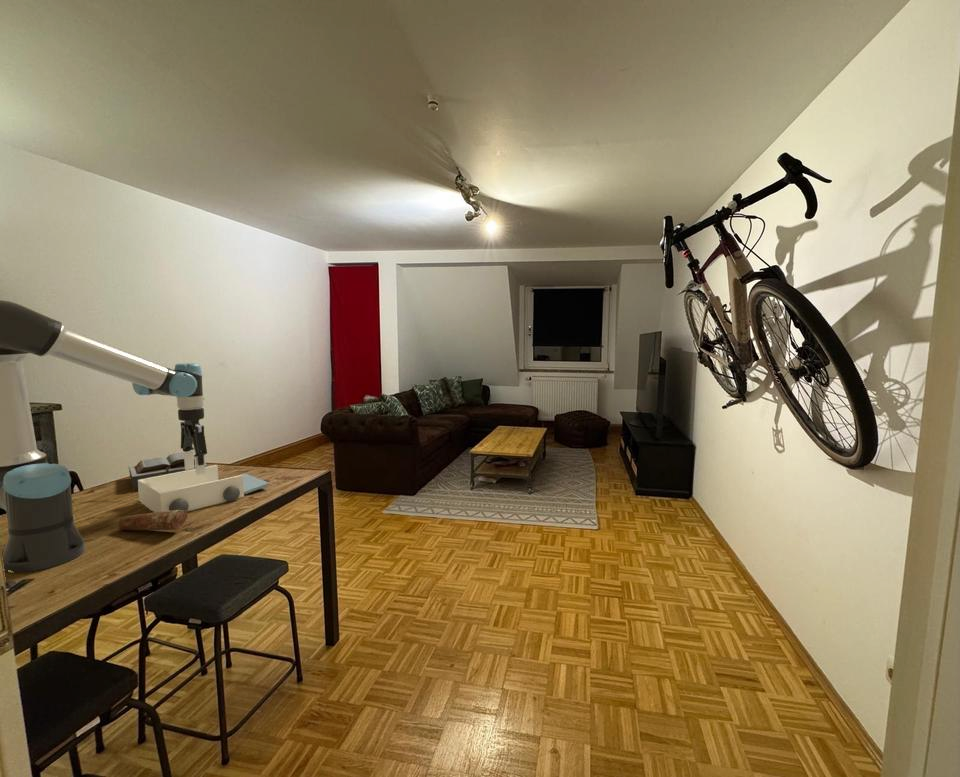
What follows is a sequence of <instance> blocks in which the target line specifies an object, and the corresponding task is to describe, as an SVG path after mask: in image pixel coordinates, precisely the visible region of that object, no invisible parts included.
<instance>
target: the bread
mask: <svg viewBox="0 0 960 777" xmlns="http://www.w3.org/2000/svg"><path fill="white" fill-rule="evenodd" d="M187 518H188V511H186V510H173V511H163V512H154V511H153V512H150V513H149V512H148V513H139V514H132V515H126V516H124V517H121V519H120V520H119V521H118V524H117V527H118V530H121V531H176V530H179V528H180V527H181V526H183V525H184V524H185V522H186V521H187Z"/></svg>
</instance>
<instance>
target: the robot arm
mask: <svg viewBox="0 0 960 777" xmlns="http://www.w3.org/2000/svg"><path fill="white" fill-rule="evenodd" d="M30 354H31V355H35V356H39V357H47V356H51V357H54V358H58V359H60V360H64V361H66V362H69V363H72V364H75V365H78V366H82V367H85V368H88V369H90V370H94V371H97V372H99V373H103V374H106V375H109V376H112V377H114V378H118V379H121V380H123V381H127V382H130V383H132V389H133V391H134V392H135V394H137V395H139V396H151V395H161V396H169V397H170V396H171V397H176V404H177V406H176V407H177V408H178V410H177V414H178V415H177V416H178V420H179V421H181V422H180V449H181V450H182V451H183V452H184V463H185V470H189V469H194V457H195V471H196V475H200V474H204V473H205V463H206V461H205V455H207V454H208V450H207V444H206V443H207V442H206V436H205V426H204V425H201V424H200V420H203V419H204V418H205V408H203V406H204V400H205V397H204V395H203V394H204V392H203V374H202V366H201V365H200V364H199V363H189V362H188V363H176V364H175V365H174V368H173V369H172V368H170V367H166V366H164V365H161V364H159V363H157V362H154V361H151V360H149V359H146V358H144V357H141V356H138V355H136V354H134V353H130V352H127V351H126V350H122V349H120V348H118V347H115V346H112V345H110V344H107V343H104V342H101V341H99V340H98V339H95V338H91V337H90V336H86V335H83V334H81V333H79V332H76V331H73V330H71V329H68V328H66V327H65V325H64V323H63V322H61V321H59V320H56V319H54V318H51V317H49V316H47V315H44V314H42V313H40V312H39V311H35V310H32V309H31V308H28V307H26V306H24V305H23V304H22V305H21V304H19V303H16V302H13V301H9V300H2V299H1V300H0V509H3V510H4V511H5V512H6V520H7V529H8V530H7V531H8V538H7V541H6V544H5V546H4V550H3V552H2V555H1V557H2V556H3V563H4V569H5V572H4V573H7V574H9V573H8V570H11V571H13V572H14V573H13V574H26V573H33V572H38V571H43V570H46V569H49V568H53V567H56V566H60V565H63V564H65V563H68V562H70V561H73V560H74V559H76V558H78V557H79V556H81V555H82V554H83V553H84V552H85V550H86V545H85V543H86V542H85V540H84V538H83V536H82V535H81V533H80V531H79V530H78V527H77V526H76V525H75V521H74V512H73V511H74V509H73V498H72V497H73V496H72V487H71V486H72V477H71V475H70V471H69V469H68V468H67V467H66V466H65V465H62V464H59V463H48V460H47V459H48V458H47V454H46V453H45V452H43V451H41V450H39V449H38V447H37V446H38V445H37V441H36V435H35V434H36V433H35V428H34V423H33V416H32V411H31V405H30V399H29V398H30V397H29V392H28V387H27V380H26V374H25V369H24V364H23V362H24V360H26V358H27V357H29V356H30ZM194 453H195V454H194Z"/></svg>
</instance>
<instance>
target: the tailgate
mask: <svg viewBox="0 0 960 777" xmlns="http://www.w3.org/2000/svg"><path fill="white" fill-rule="evenodd" d="M239 475H243V484H244V495H246V494H249V493H252V492H254V491H257V490H261V489H264V488H266V487H268V486H270V483H269V482H268V481H265V480H263V479H260V478H259V477H256V476H252V475H250V474H247V473H242V474H239ZM239 475H237V476H239Z"/></svg>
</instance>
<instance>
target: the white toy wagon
mask: <svg viewBox="0 0 960 777" xmlns="http://www.w3.org/2000/svg"><path fill="white" fill-rule="evenodd" d="M241 498H245V494H244V484H243V475H241V474H239V476H238V475H235V476H231V477H226V478H222V479H219V466H218V464H214V465H209V466H208V467H205V473H204V474H200V475H196V471H195V469H192V470H187V471H182V472H177V473H171V474H166V475H161V476H156V477H151V478H145V479H140V480H138V502H139V501H140V502H141V503H142V504H144V505H145V506H146V507H148V508H149V511H152V512H153V513H154V512H163V511H173V510H186V511H187V512H189V511H190V512H191V511H194V510H198V509H202V508H206V507H210V506H214V505H218V504H223V503H226V502H228V503H229V502H230V503H231V502H235V501H236V500H238V499H241ZM141 503H140V504H141ZM142 504H141V505H142ZM145 506H144V507H145ZM146 507H145V508H146ZM148 508H147V509H148Z"/></svg>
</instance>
